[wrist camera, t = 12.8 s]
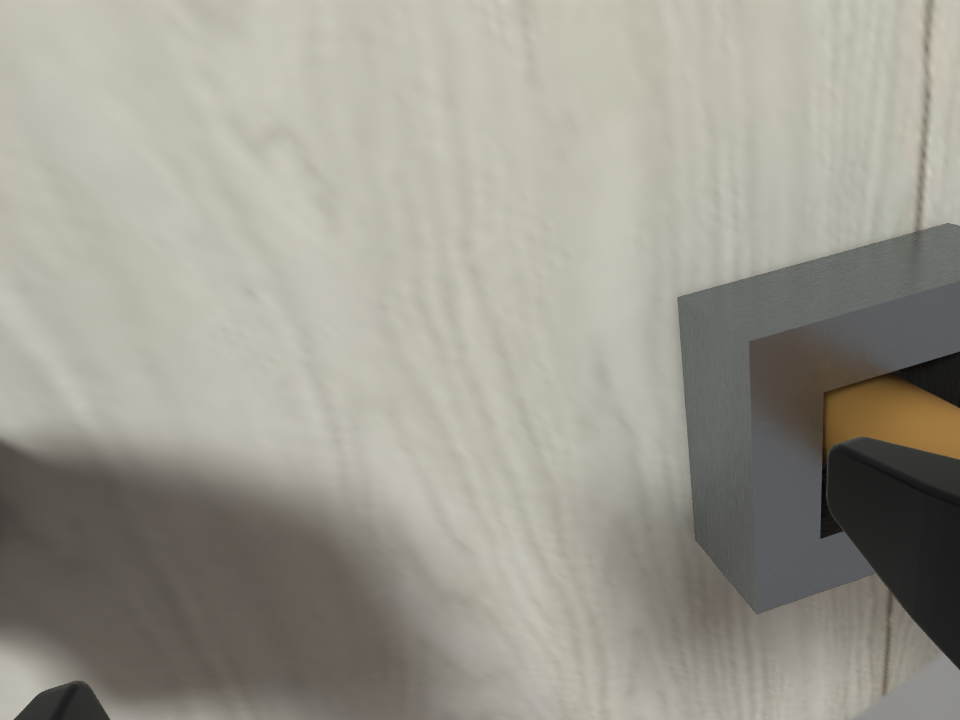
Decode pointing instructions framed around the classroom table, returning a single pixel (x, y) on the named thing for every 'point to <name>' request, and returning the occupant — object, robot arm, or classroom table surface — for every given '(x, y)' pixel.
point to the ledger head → (803, 398)
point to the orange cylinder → (891, 416)
